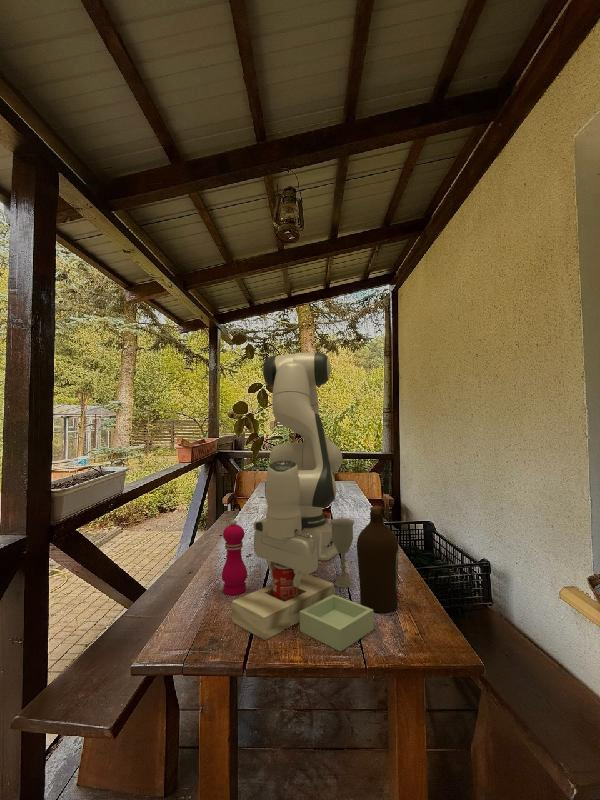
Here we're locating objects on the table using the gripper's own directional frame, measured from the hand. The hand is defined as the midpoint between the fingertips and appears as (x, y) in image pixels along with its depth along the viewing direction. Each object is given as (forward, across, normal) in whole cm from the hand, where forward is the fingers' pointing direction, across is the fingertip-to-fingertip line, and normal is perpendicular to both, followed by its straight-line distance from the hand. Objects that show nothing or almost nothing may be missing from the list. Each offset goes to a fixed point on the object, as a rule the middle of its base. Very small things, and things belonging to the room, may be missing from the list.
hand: (285, 581), depth 106 cm
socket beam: (+8, 0, 0) cm, 8 cm away
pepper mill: (+8, +20, +1) cm, 21 cm away
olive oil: (+8, -15, -19) cm, 25 cm away
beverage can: (+8, 0, 0) cm, 8 cm away
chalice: (+8, 0, -23) cm, 24 cm away
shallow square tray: (+8, -15, -2) cm, 17 cm away
